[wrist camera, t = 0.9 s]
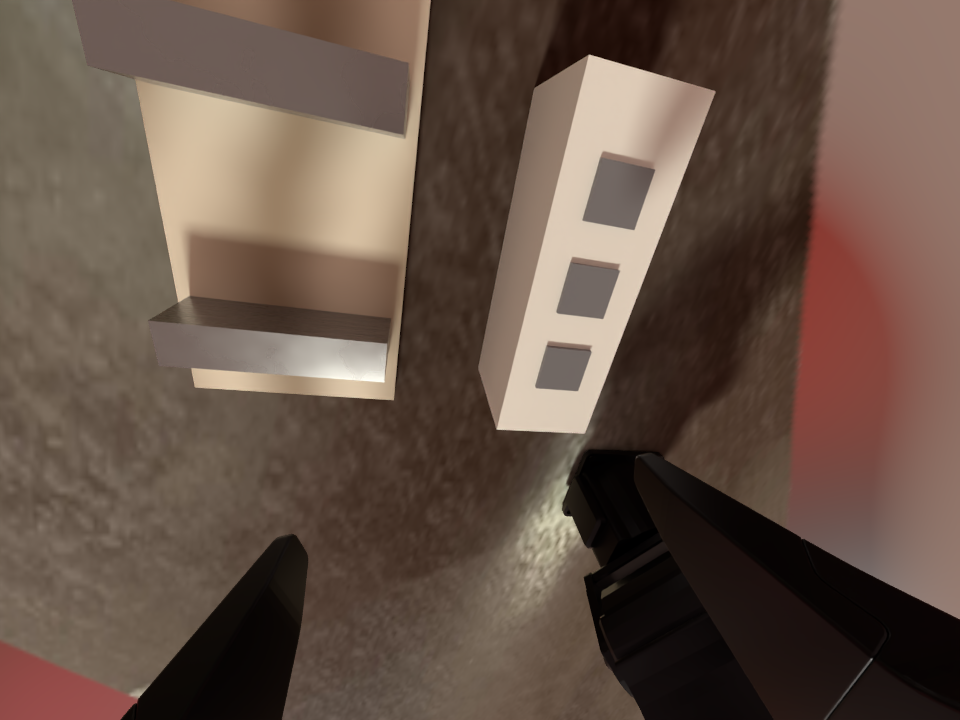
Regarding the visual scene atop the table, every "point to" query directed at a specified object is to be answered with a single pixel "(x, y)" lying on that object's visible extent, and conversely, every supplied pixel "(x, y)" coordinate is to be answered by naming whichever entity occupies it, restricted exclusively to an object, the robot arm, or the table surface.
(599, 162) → the power strip
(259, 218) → the stand
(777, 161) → the table surface
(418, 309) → the table surface
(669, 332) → the table surface
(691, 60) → the table surface
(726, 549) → the robot arm
